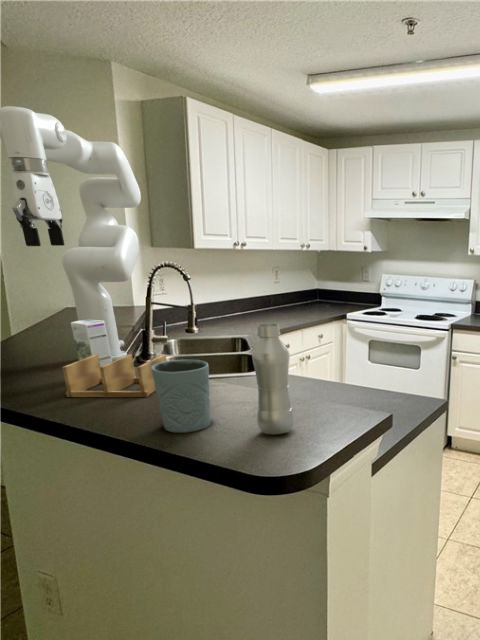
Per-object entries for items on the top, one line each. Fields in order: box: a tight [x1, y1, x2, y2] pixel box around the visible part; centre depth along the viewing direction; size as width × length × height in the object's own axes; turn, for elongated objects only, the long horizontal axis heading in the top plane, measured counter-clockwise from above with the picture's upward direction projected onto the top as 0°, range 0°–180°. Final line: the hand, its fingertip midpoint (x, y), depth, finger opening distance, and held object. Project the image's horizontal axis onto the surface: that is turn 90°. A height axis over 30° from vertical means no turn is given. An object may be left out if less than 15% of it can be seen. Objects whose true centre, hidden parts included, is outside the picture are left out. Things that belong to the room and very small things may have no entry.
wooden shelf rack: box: [61, 353, 167, 398], centre depth 130 cm, size 14×18×7 cm
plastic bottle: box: [251, 323, 295, 435], centre depth 99 cm, size 6×7×20 cm
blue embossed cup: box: [151, 359, 212, 434], centre depth 104 cm, size 10×10×12 cm
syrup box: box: [70, 320, 112, 367], centre depth 140 cm, size 6×6×14 cm
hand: (46, 245), depth 134 cm, fingers open, 9 cm apart
